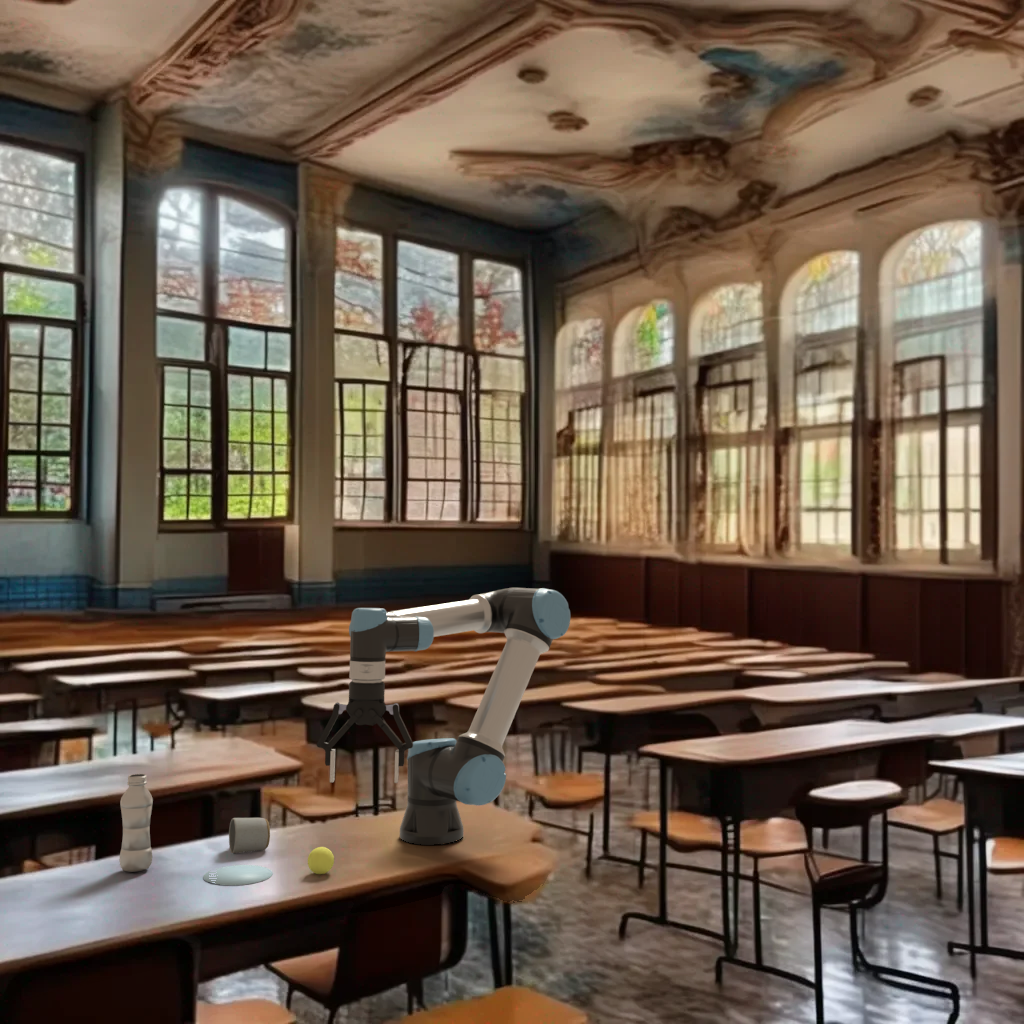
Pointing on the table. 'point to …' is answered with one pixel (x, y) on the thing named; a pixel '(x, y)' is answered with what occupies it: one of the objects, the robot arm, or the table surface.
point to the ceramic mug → (248, 834)
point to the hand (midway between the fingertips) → (364, 781)
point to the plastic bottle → (136, 825)
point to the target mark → (239, 875)
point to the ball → (320, 860)
